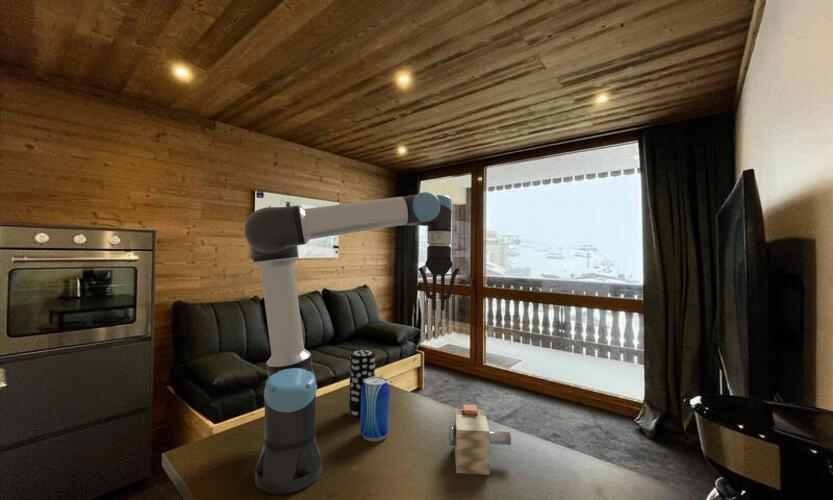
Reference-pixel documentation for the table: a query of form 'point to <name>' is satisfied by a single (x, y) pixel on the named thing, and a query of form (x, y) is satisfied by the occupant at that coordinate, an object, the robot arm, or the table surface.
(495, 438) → the pin
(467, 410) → the plunger
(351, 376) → the spotted tube
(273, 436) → the robot arm
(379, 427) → the beer can
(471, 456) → the block
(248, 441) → the table surface
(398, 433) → the table surface
